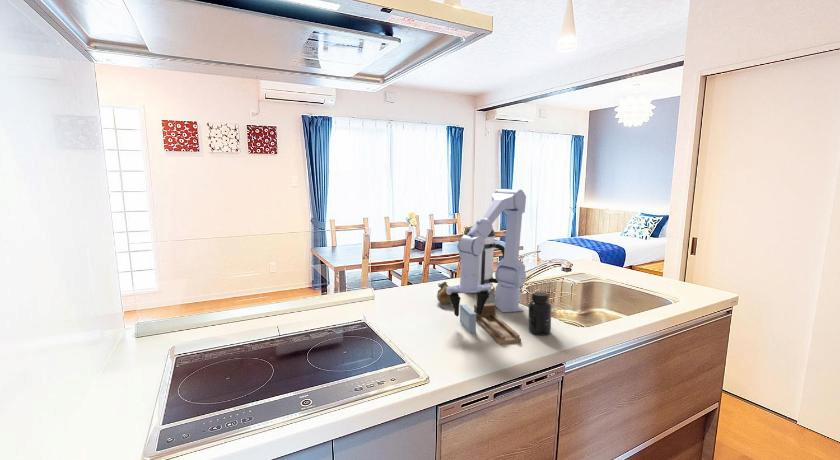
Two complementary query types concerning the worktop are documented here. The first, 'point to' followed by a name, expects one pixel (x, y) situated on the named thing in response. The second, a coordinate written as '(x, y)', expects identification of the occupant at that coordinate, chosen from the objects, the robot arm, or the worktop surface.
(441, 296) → the onion
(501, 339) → the door track
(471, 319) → the light blue flat block
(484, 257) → the coffee press
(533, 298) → the supplement bottle
